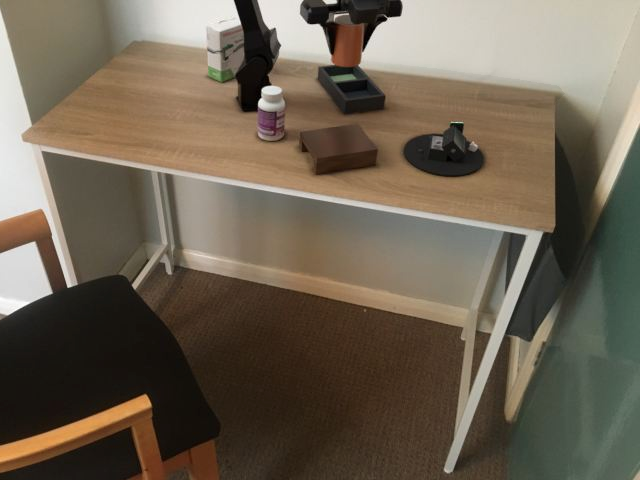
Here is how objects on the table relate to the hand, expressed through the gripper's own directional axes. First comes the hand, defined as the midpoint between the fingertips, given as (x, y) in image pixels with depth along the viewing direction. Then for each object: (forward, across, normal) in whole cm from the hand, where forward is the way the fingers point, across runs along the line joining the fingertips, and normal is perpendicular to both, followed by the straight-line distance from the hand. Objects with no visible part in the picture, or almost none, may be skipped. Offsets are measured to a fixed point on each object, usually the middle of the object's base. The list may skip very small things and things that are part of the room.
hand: (346, 52), depth 121 cm
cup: (+2, 0, 0) cm, 2 cm away
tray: (+13, +5, +8) cm, 16 cm away
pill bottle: (+13, -17, -6) cm, 22 cm away
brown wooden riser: (+13, -6, -16) cm, 22 cm away
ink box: (+13, -20, +24) cm, 34 cm away
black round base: (+13, +14, -21) cm, 28 cm away
